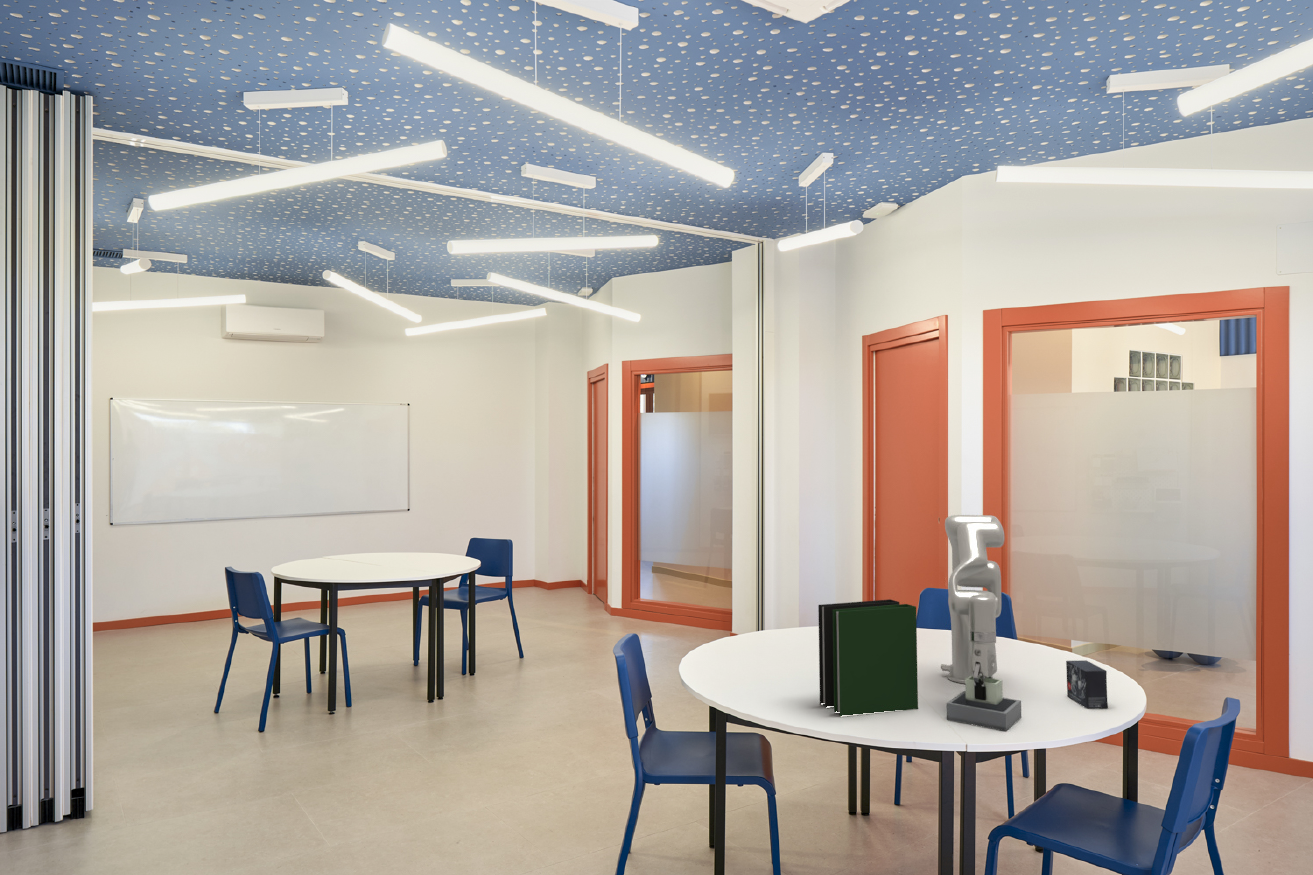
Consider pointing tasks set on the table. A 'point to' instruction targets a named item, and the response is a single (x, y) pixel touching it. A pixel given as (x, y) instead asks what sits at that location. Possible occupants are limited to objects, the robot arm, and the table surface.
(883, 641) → the binder
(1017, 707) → the big crate
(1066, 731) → the table surface
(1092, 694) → the small box
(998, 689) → the small crate
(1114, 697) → the table surface
